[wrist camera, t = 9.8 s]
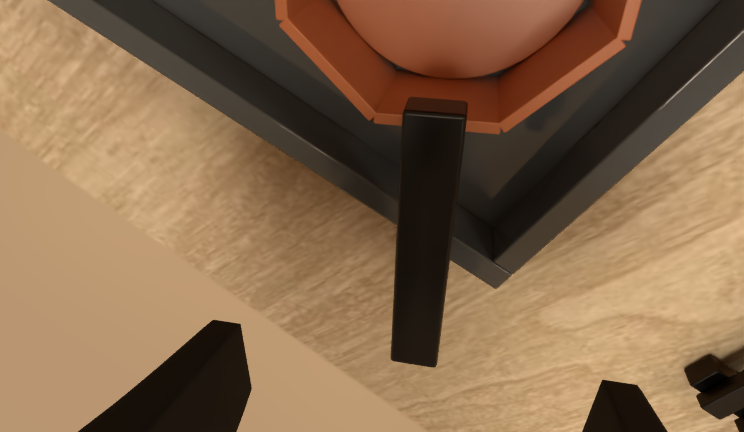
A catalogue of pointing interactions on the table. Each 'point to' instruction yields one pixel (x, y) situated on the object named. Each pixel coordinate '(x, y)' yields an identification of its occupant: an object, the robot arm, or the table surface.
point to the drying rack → (718, 389)
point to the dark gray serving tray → (481, 150)
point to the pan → (447, 104)
